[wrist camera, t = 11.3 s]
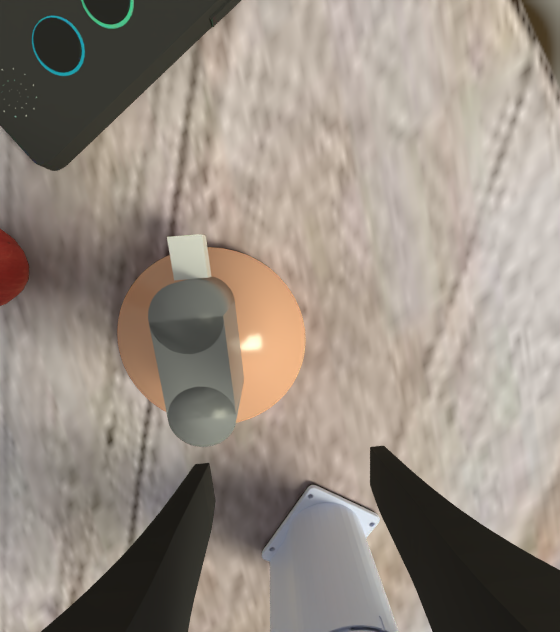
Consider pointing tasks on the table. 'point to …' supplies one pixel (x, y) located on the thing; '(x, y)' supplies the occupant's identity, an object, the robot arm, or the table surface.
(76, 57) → the smart home device
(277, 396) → the plate
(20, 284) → the onion
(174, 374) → the connector
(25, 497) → the table surface
